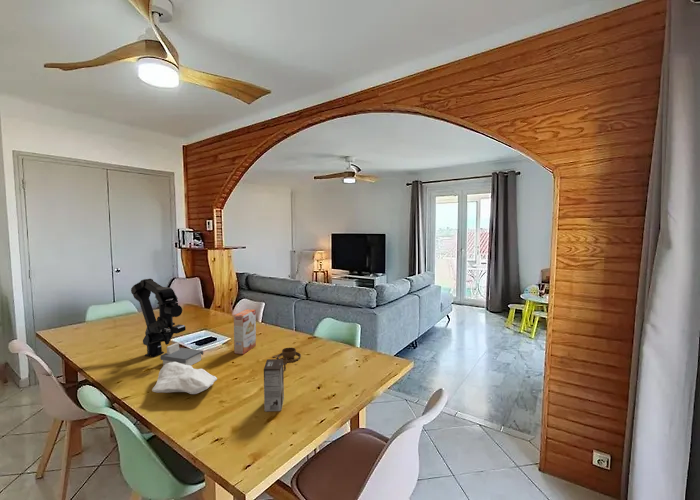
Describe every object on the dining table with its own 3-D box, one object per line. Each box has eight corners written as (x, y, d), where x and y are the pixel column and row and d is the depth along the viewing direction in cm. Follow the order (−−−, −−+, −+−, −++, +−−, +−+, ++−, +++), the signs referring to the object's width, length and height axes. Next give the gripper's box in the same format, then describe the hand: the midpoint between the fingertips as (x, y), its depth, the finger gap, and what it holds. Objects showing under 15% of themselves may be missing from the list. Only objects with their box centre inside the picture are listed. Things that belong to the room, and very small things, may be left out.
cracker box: (244, 354, 178) (243, 315, 176) (233, 354, 179) (232, 315, 177) (256, 345, 191) (256, 309, 190) (247, 344, 193) (246, 308, 191)
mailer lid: (160, 359, 165) (160, 348, 164) (179, 351, 176) (178, 340, 175) (185, 363, 160) (185, 352, 160) (203, 354, 171) (202, 343, 171)
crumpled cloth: (167, 413, 120) (171, 387, 121) (135, 382, 143) (137, 360, 144) (228, 398, 138) (231, 375, 138) (190, 372, 161) (193, 353, 161)
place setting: (310, 358, 175) (310, 346, 175) (286, 373, 157) (286, 360, 157) (283, 352, 183) (282, 341, 182) (257, 366, 165) (257, 354, 165)
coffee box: (267, 399, 133) (266, 359, 131) (284, 398, 133) (283, 358, 132) (263, 412, 124) (262, 369, 122) (281, 411, 124) (280, 368, 123)
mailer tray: (162, 364, 166) (162, 357, 165) (178, 356, 175) (178, 349, 175) (186, 368, 161) (185, 360, 161) (201, 360, 171) (201, 352, 171)
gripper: (137, 316, 164) (138, 347, 165) (167, 319, 159) (169, 352, 160) (156, 310, 175) (157, 340, 176) (185, 313, 169) (186, 344, 171)
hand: (167, 344), depth 170 cm, fingers closed
